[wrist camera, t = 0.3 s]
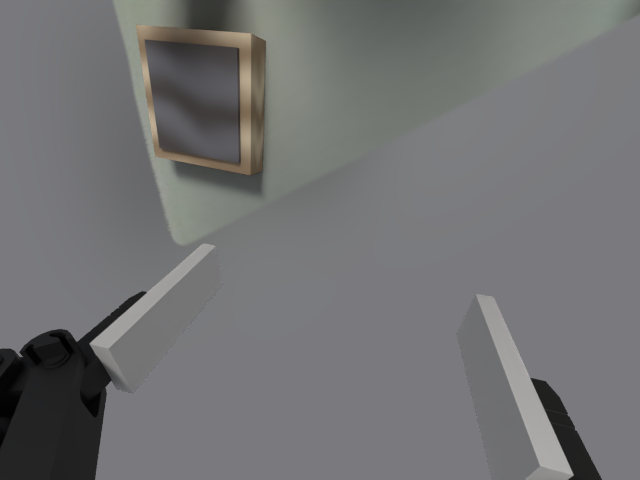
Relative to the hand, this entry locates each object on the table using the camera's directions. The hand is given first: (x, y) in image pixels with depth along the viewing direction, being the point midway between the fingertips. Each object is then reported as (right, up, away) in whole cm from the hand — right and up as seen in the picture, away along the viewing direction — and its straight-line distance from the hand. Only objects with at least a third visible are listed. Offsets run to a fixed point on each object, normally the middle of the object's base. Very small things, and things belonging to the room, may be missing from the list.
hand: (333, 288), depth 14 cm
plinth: (-16, +22, +25) cm, 37 cm away
